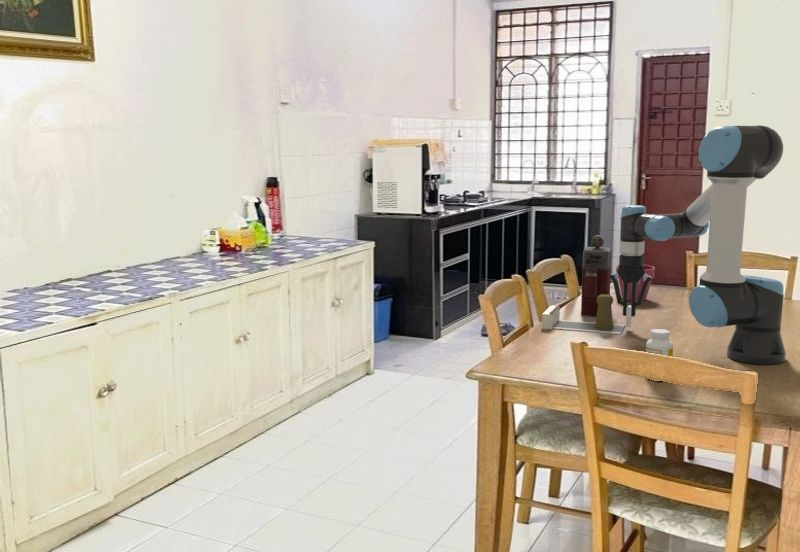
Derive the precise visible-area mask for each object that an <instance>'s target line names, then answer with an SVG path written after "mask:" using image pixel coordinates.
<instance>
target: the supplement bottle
mask: <svg viewBox="0 0 800 552" xmlns="http://www.w3.org/2000/svg"><path fill="white" fill-rule="evenodd" d="M649 335H650V337H651V338H650V339H648V340H647V341H646V344H645V353H646V352H648V353H655V354H661V355H667V356H672V357H673V358H674V343H673V342H672V340H670V339H669V338H670V335H671V332H670V330H667V329H664V328H663V329H662V328H655V329H651V330H650V334H649ZM651 382H654V381H653V380H652V381H651Z"/></svg>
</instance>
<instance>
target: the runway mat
mask: <svg viewBox="0 0 800 552" xmlns="http://www.w3.org/2000/svg"><path fill="white" fill-rule="evenodd" d="M625 327H626V324H614V323H613V329H611V330H600V329H596V328H595V322H590V321H589V322H588V321H580V320H579V321H578V320H577V321H575V320H565V319H564V320H563V319H559V320H558V322H557V323H556V324H555V325H554V326H553V327H552V329H551V330H560V329H563V331H573V332H586V333H596V334H597V333H598V334H613V335H621V334H622V332H623V330H624V329H625Z"/></svg>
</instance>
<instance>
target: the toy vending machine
mask: <svg viewBox="0 0 800 552" xmlns="http://www.w3.org/2000/svg"><path fill="white" fill-rule="evenodd" d="M590 243H591V246H587V247H586V248H585V249H584V250H583V251H582V267H581V269H582V271H581V276H582V277H581V307H580V309H581V310H580V316H581V317H582V316H583V317H594V318H596V316H597V310H598V303H597V297H598V296H599V295H603V294H606V295H611V280H612V279H611V278H610V276H611V274H612V273H611V271H612V248H611V247H604V246H603V245H604V243H605V239H604V237H603V236H602V235H598V234H597V235H595V236H593V237H592V239H591V241H590Z"/></svg>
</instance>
